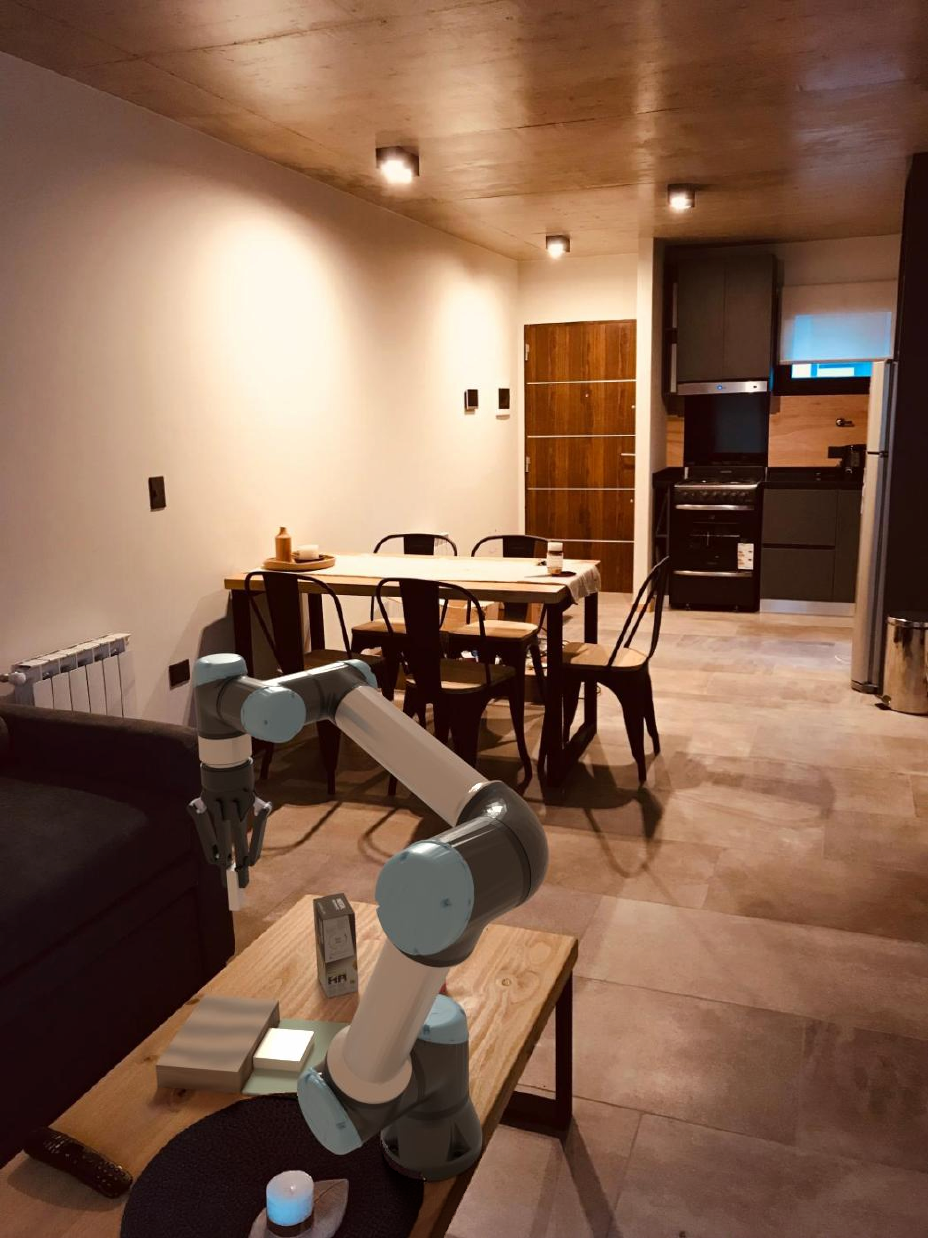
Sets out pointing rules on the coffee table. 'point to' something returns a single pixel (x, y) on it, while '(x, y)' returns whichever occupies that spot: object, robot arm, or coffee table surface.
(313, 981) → the coffee table surface
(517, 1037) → the coffee table surface
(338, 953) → the coffee box
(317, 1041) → the mat
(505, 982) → the coffee table surface
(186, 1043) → the tan flat block
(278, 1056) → the coaster
